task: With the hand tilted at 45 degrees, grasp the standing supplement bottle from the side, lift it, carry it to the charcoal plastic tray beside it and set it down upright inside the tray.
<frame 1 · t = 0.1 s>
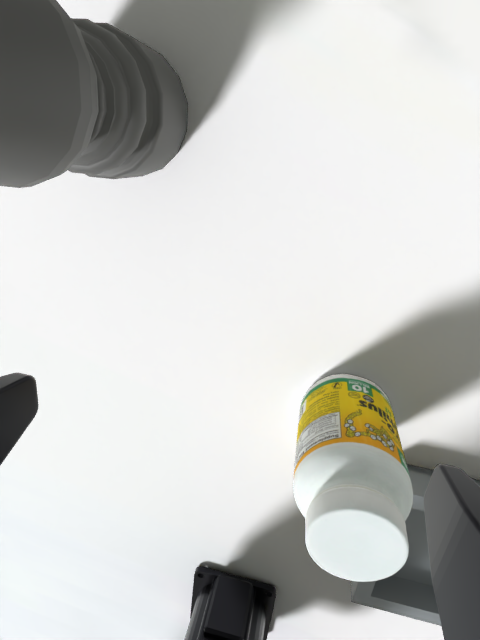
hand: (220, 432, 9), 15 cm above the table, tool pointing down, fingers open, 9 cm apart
candle holder: (132, 112, 21), on the table
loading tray: (442, 535, 27), on the table
supplement bottle: (345, 407, 25), on the table
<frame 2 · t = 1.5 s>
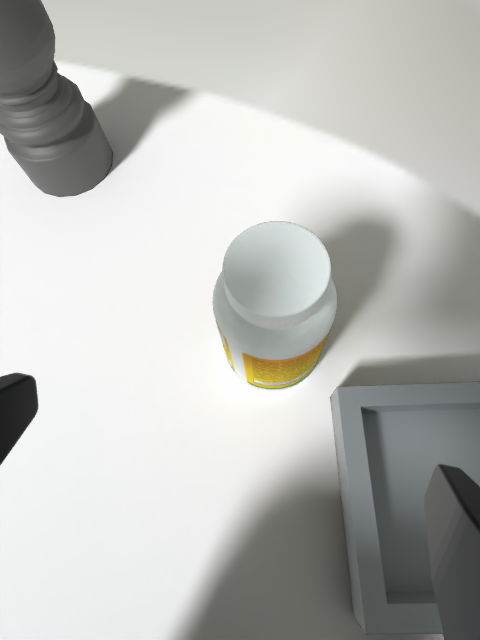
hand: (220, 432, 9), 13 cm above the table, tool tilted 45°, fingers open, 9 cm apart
candle holder: (73, 165, 30), on the table
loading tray: (442, 493, 20), on the table
supplement bottle: (272, 348, 24), on the table
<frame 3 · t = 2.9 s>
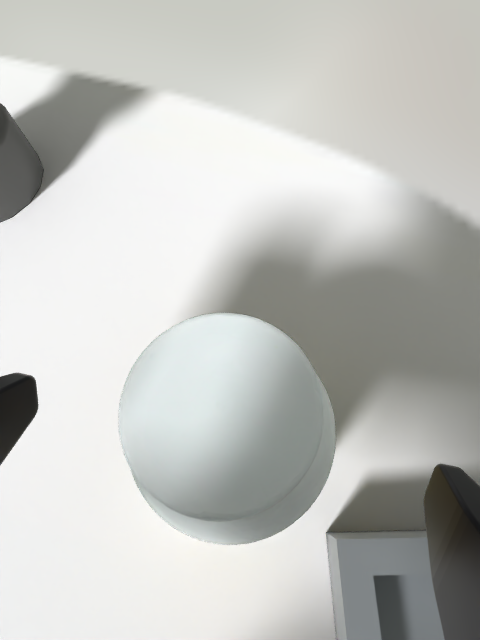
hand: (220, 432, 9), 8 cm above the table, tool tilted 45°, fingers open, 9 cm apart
supplement bottle: (243, 451, 17), on the table
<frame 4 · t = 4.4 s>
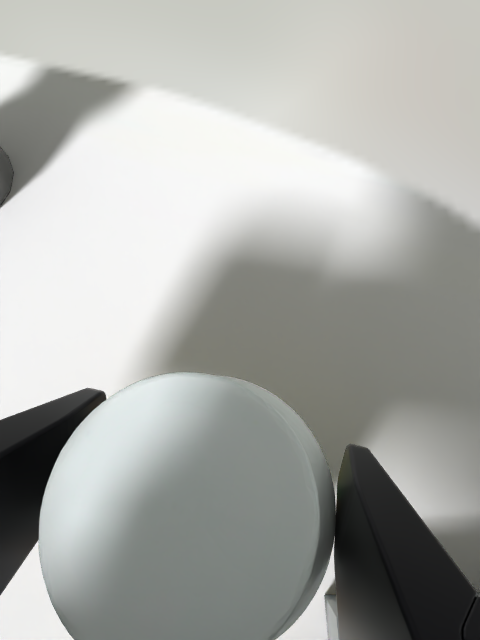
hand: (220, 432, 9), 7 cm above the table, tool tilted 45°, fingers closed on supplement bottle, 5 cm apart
supplement bottle: (230, 496, 15), on the table, touching gripper
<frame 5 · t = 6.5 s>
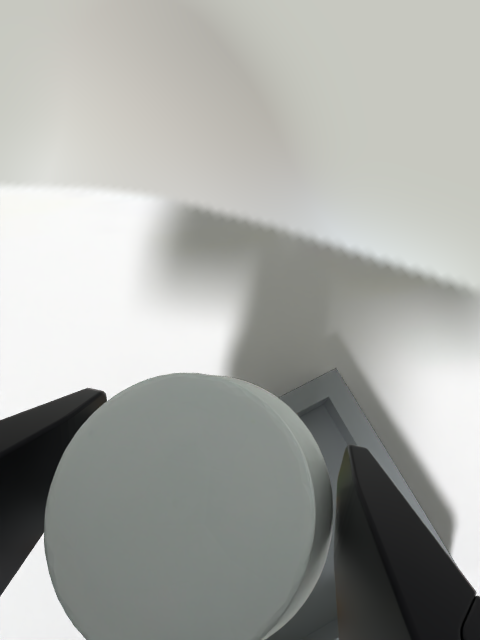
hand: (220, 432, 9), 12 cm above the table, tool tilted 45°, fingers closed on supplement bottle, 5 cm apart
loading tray: (291, 521, 19), on the table
supplement bottle: (231, 495, 15), point 5 cm above the table, touching gripper
when the fingers open (8 cm above the table, at t = 8.5 s): supplement bottle stays where it is, resting on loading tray.
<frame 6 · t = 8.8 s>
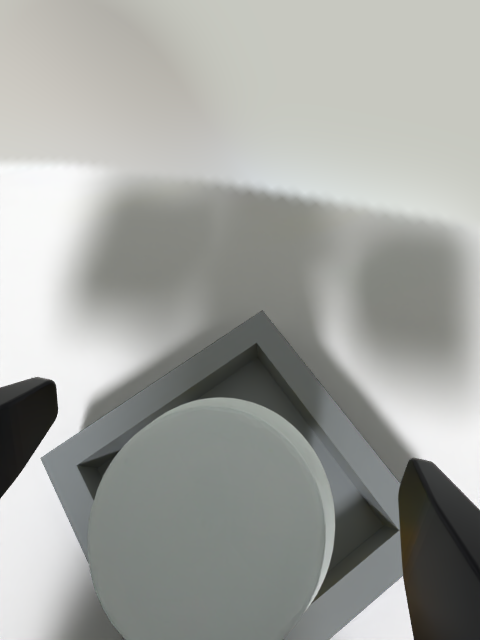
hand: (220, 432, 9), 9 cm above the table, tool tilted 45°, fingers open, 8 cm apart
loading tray: (235, 495, 16), on the table
supplement bottle: (233, 500, 16), resting on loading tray
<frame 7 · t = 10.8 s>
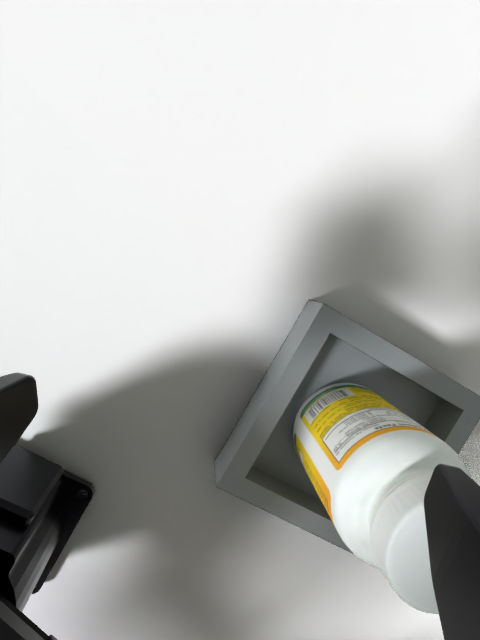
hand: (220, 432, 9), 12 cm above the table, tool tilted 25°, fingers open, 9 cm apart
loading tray: (338, 424, 22), on the table
supplement bottle: (338, 428, 22), resting on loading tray
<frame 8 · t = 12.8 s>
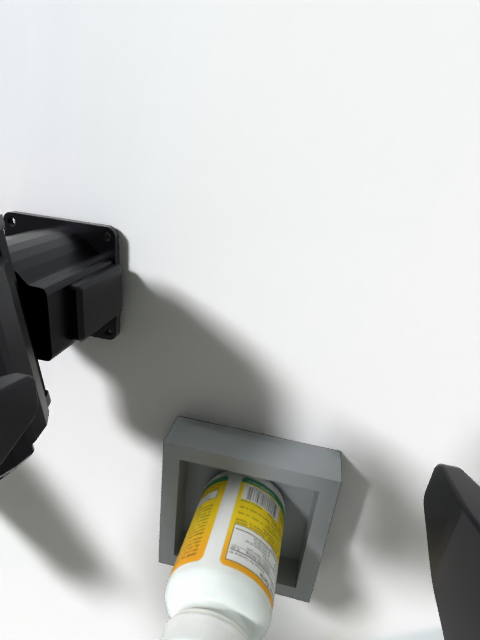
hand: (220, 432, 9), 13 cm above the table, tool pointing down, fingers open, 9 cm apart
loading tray: (247, 494, 27), on the table
supplement bottle: (244, 497, 26), resting on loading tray
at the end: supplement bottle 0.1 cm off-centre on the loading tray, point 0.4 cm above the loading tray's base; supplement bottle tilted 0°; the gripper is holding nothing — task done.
